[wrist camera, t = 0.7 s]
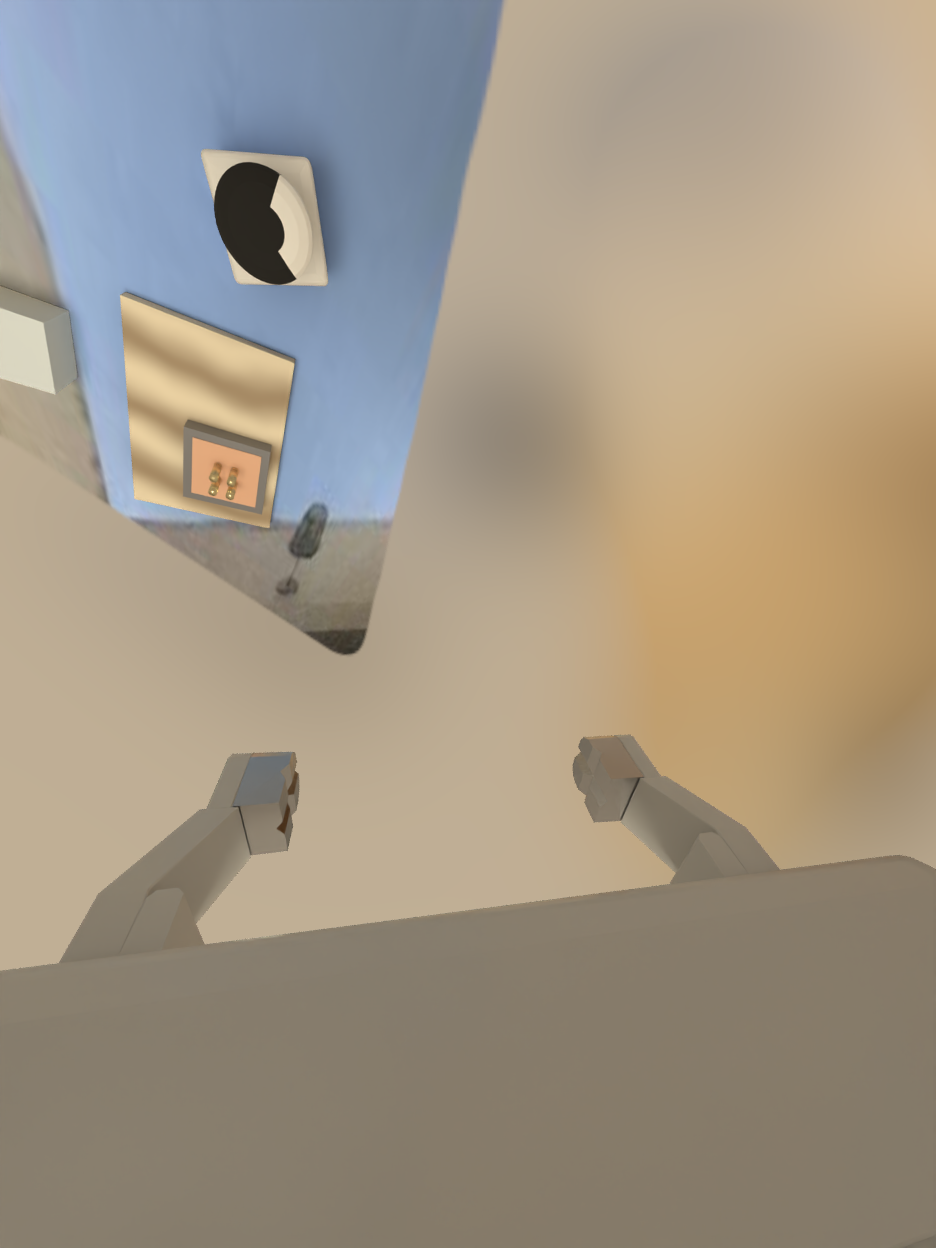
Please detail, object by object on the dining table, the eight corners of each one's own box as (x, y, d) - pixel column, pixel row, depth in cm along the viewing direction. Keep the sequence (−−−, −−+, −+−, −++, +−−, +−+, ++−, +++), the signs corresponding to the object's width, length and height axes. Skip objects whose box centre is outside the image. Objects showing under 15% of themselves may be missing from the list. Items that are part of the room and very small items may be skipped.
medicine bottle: (246, 272, 38) (226, 295, 30) (216, 154, 33) (181, 142, 25) (328, 275, 39) (329, 297, 31) (311, 161, 34) (307, 152, 26)
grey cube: (-22, 278, 34) (-59, 287, 31) (68, 310, 37) (43, 322, 33) (-4, 351, 37) (-36, 367, 34) (77, 377, 40) (55, 394, 37)
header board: (125, 292, 37) (98, 306, 32) (295, 359, 43) (292, 378, 39) (138, 492, 48) (119, 522, 44) (270, 522, 55) (265, 551, 50)
